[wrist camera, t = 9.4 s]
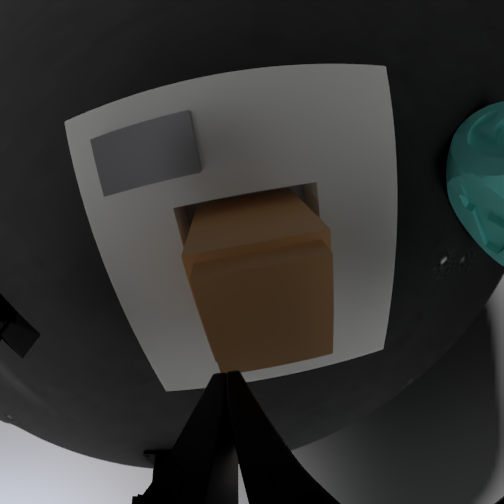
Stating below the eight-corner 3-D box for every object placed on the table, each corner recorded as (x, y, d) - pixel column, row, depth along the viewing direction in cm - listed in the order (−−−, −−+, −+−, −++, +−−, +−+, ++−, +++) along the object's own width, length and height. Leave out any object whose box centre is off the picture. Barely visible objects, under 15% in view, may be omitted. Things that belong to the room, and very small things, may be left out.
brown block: (298, 268, 16) (340, 356, 10) (216, 283, 16) (215, 381, 10) (289, 187, 14) (342, 241, 8) (197, 204, 14) (176, 272, 8)
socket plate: (365, 321, 19) (388, 357, 15) (171, 359, 19) (164, 400, 15) (357, 74, 12) (395, 63, 9) (92, 121, 12) (55, 122, 8)
